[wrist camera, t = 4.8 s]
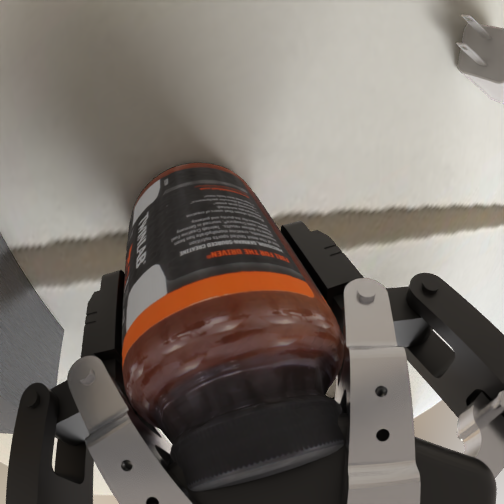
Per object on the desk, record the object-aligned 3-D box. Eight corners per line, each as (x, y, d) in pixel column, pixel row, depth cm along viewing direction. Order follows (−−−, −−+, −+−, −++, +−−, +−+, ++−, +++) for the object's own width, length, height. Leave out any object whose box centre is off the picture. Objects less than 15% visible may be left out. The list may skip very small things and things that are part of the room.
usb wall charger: (484, 96, 14) (528, 114, 11) (431, 53, 12) (486, 65, 8) (494, 52, 12) (537, 65, 9) (441, 1, 9) (494, 5, 6)
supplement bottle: (107, 192, 12) (64, 486, 3) (236, 138, 12) (434, 371, 3) (163, 286, 15) (203, 510, 7) (268, 244, 16) (382, 448, 7)
